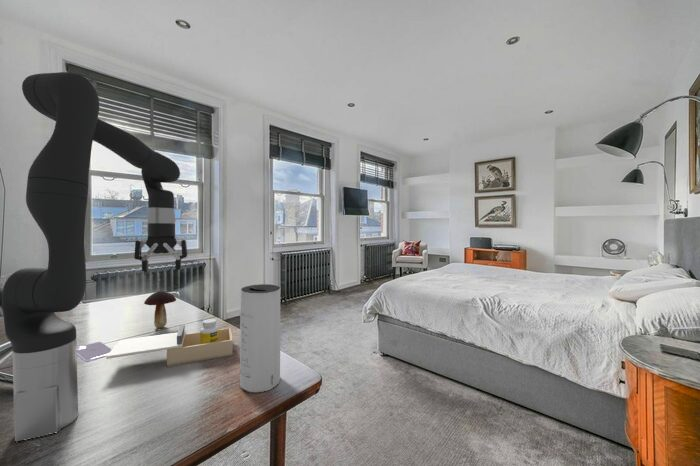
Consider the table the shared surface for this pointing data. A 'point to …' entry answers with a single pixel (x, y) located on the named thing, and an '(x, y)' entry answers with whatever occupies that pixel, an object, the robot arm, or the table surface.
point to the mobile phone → (93, 351)
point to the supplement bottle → (209, 332)
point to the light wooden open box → (200, 349)
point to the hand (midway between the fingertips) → (162, 271)
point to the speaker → (259, 337)
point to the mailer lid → (148, 344)
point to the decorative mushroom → (160, 306)
